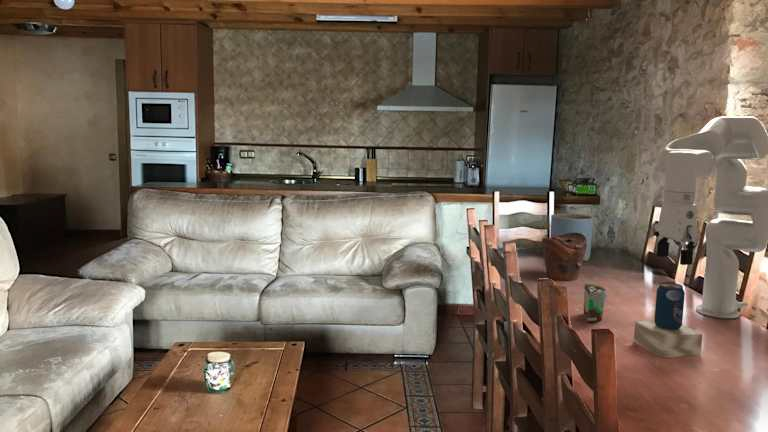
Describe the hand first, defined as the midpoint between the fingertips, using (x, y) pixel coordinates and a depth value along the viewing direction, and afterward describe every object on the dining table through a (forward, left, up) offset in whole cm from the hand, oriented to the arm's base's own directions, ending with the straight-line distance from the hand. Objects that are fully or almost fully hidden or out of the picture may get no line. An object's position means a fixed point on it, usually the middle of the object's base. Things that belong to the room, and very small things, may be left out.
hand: (673, 260), depth 160 cm
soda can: (0, 0, -19) cm, 19 cm away
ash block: (0, 0, -25) cm, 25 cm away
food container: (+6, -27, -25) cm, 37 cm away
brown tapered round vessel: (-9, -80, -25) cm, 84 cm away
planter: (-30, -114, -25) cm, 120 cm away
